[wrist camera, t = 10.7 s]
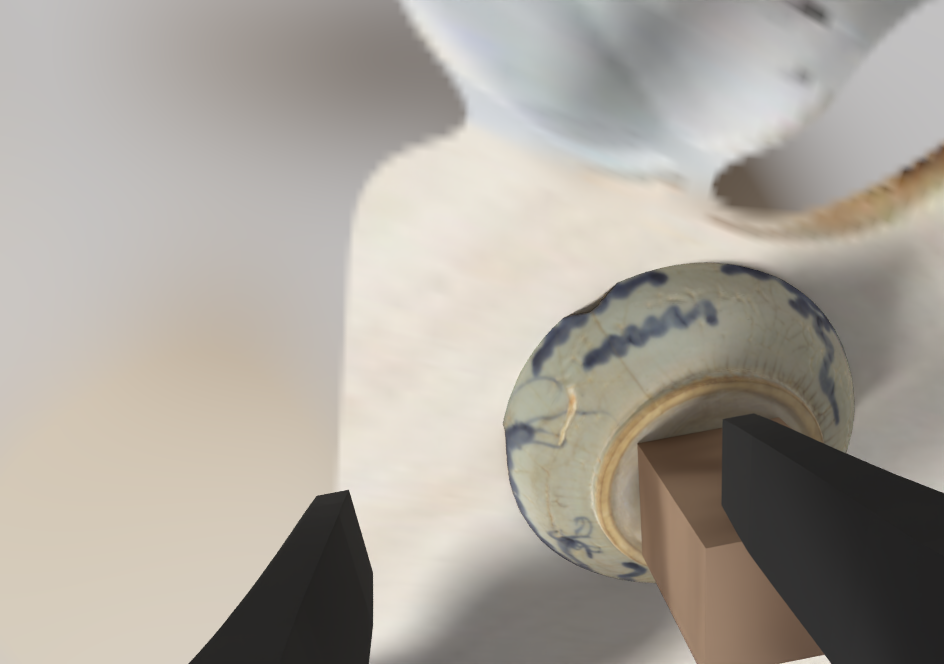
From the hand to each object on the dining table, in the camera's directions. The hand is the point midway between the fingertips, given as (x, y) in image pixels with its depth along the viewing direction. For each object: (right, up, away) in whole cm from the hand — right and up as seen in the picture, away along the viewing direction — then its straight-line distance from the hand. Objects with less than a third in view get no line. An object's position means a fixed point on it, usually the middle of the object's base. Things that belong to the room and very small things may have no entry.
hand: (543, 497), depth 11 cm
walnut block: (+7, -2, +10) cm, 12 cm away
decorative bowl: (+7, -1, +13) cm, 15 cm away
